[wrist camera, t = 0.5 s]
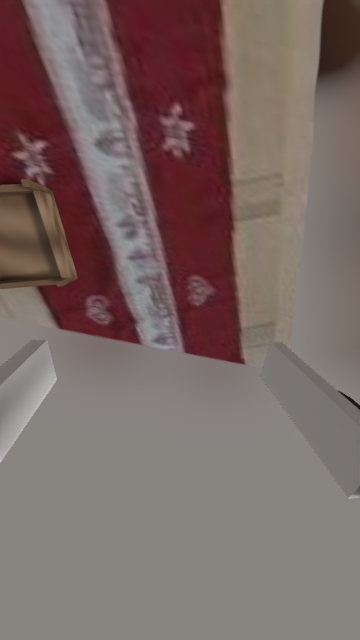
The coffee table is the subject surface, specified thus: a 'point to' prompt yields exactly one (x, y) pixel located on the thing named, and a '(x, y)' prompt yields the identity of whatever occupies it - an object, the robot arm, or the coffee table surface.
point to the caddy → (32, 238)
